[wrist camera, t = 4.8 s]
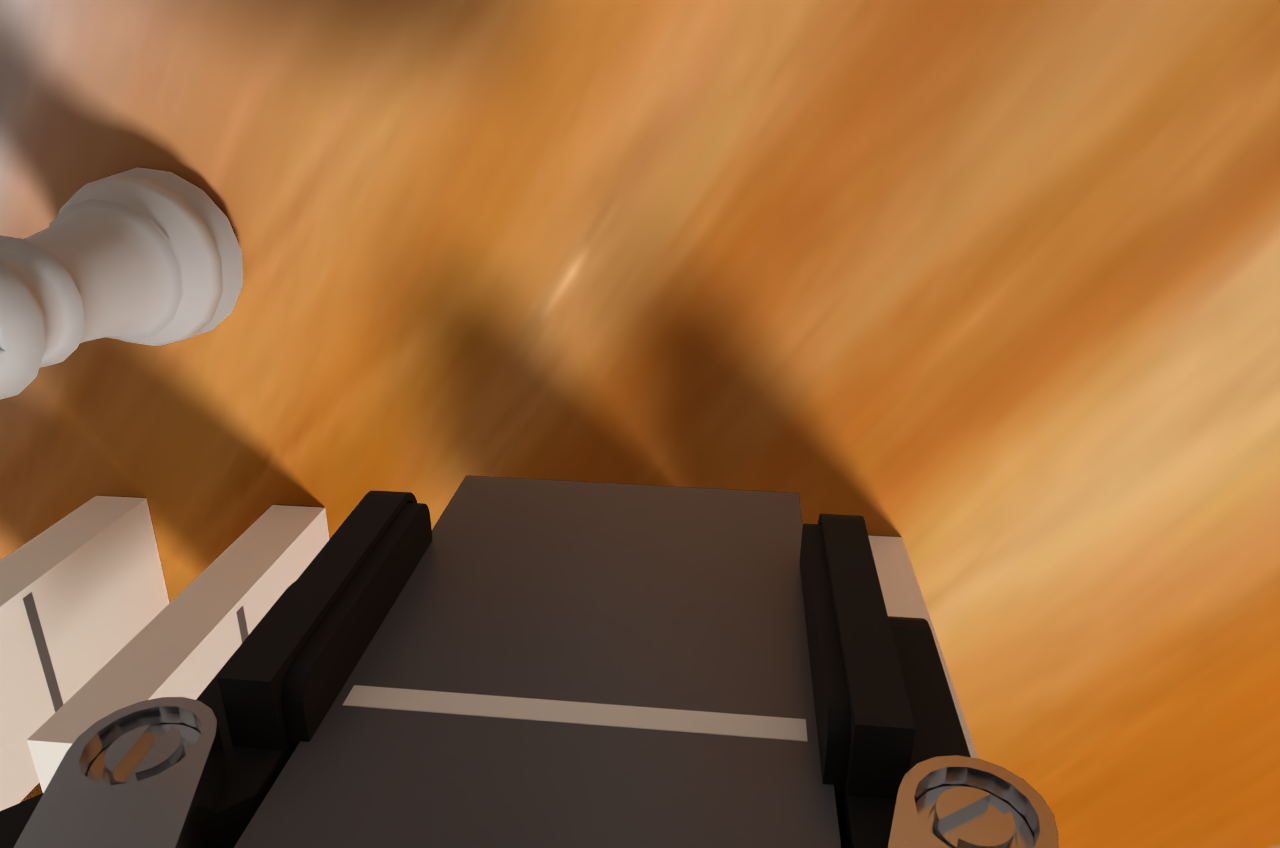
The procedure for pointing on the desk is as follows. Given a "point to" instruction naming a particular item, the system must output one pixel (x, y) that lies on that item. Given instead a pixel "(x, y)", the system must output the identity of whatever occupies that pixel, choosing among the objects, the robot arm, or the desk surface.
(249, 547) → the domino
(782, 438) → the desk surface
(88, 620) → the domino
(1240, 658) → the desk surface
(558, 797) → the domino
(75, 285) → the rook chess piece
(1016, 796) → the robot arm
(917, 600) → the domino
